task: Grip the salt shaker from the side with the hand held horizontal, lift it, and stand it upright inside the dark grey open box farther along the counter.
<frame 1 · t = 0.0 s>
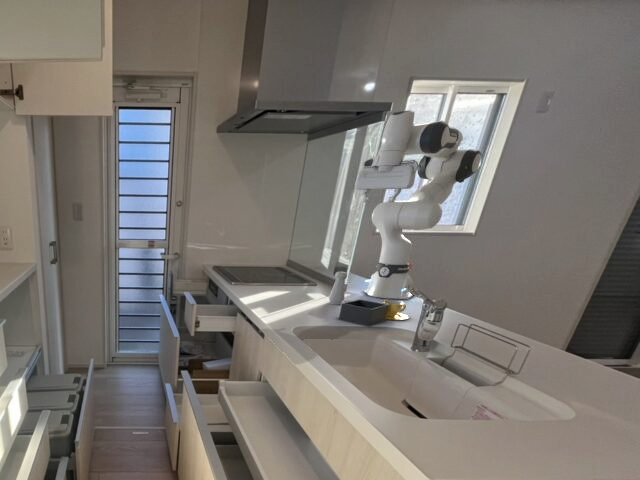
hand: (378, 202, 156), 39 cm above the table, tool pointing down, fingers open, 8 cm apart
cup: (389, 317, 152), on the table
dark grey open box: (361, 319, 149), on the table
salt shaker: (335, 303, 172), on the table
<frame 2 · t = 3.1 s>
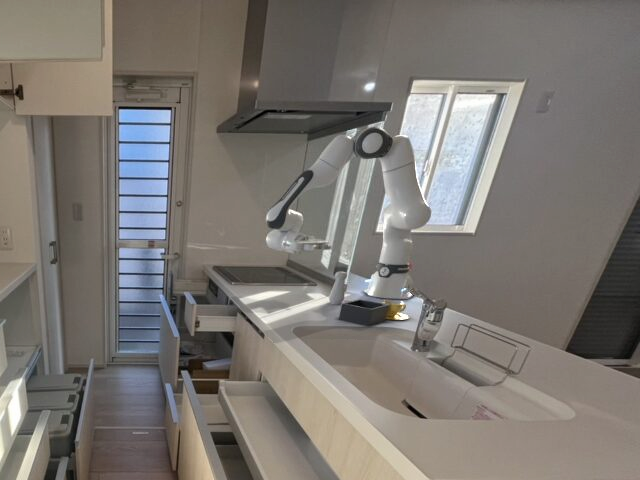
hand: (322, 247, 172), 21 cm above the table, tool horizontal, fingers open, 8 cm apart
nothing on the table moved.
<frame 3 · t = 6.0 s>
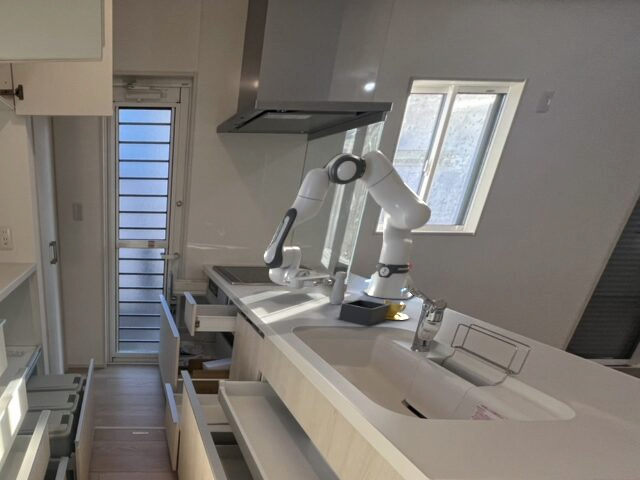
hand: (322, 283, 176), 7 cm above the table, tool horizontal, fingers open, 8 cm apart
nothing on the table moved.
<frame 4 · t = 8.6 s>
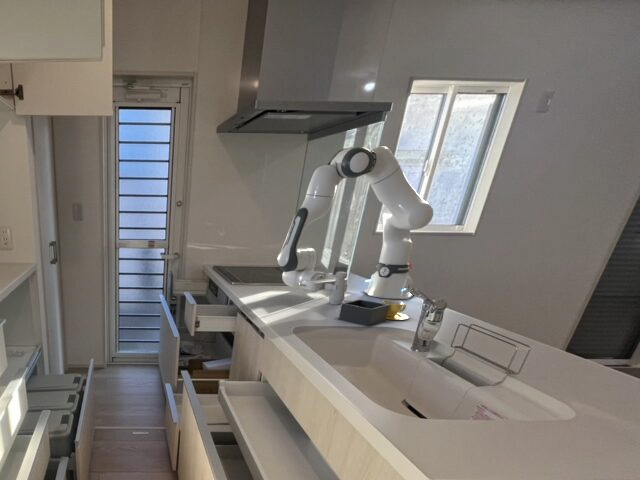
hand: (340, 287, 168), 7 cm above the table, tool horizontal, fingers closed on salt shaker, 3 cm apart
salt shaker: (335, 303, 172), on the table, touching gripper
everything else where it was.
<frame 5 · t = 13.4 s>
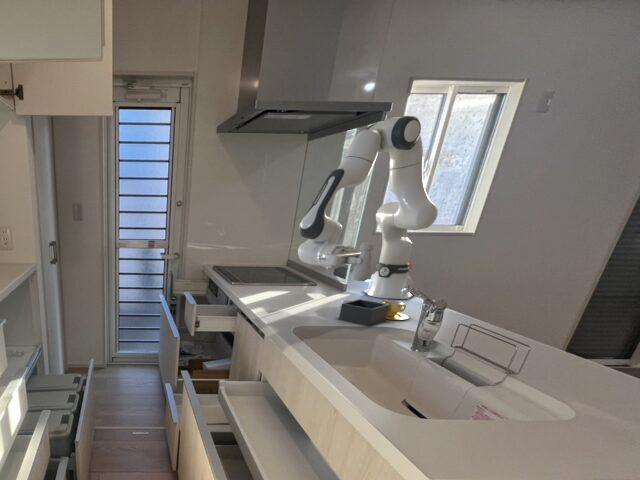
hand: (366, 260, 147), 20 cm above the table, tool horizontal, fingers closed on salt shaker, 3 cm apart
salt shaker: (359, 280, 151), point 13 cm above the table, touching gripper
everything else where it was.
when the fingers open (8 cm above the table, at t = 18.0 s): salt shaker stays where it is, resting on dark grey open box.
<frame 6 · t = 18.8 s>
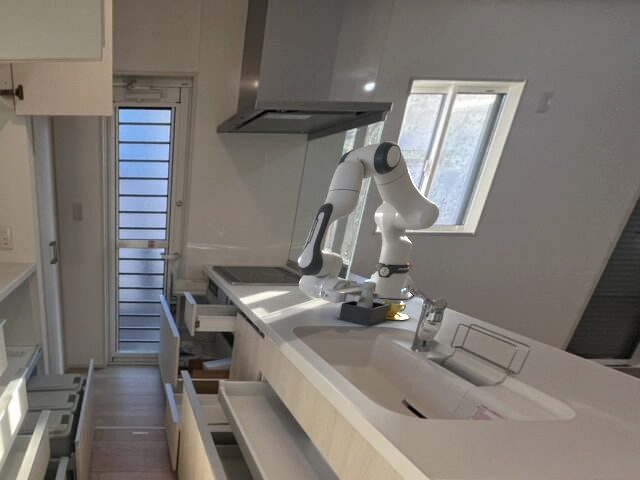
hand: (369, 297, 145), 8 cm above the table, tool horizontal, fingers open, 8 cm apart
salt shaker: (361, 318, 149), point 1 cm above the table, touching dark grey open box
everything else where it was.
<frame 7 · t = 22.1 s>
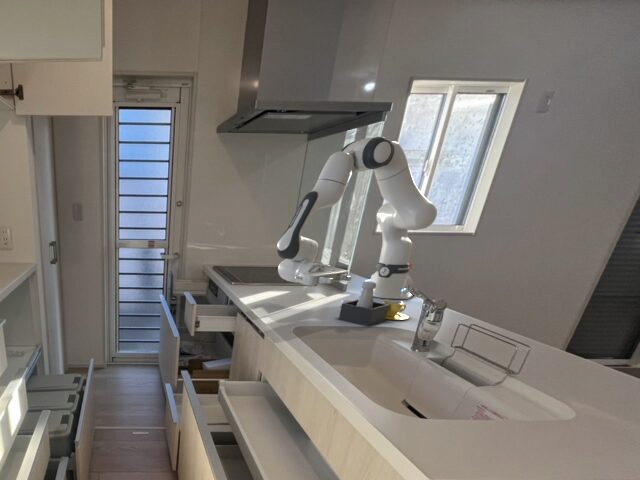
hand: (340, 279, 154), 12 cm above the table, tool horizontal, fingers open, 8 cm apart
nothing on the table moved.
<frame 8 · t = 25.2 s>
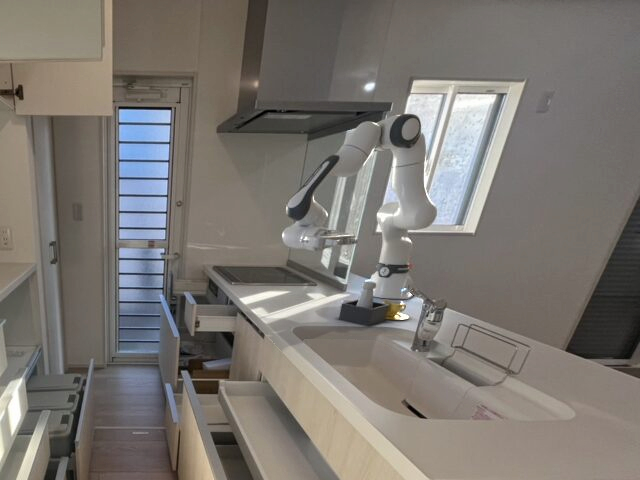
hand: (347, 242, 148), 26 cm above the table, tool horizontal, fingers open, 8 cm apart
nothing on the table moved.
at the end: salt shaker inside the target area in the dark grey open box (0.1 cm from its centre), point 0.6 cm above the dark grey open box's base; salt shaker tilted 0°; the gripper is holding nothing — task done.
